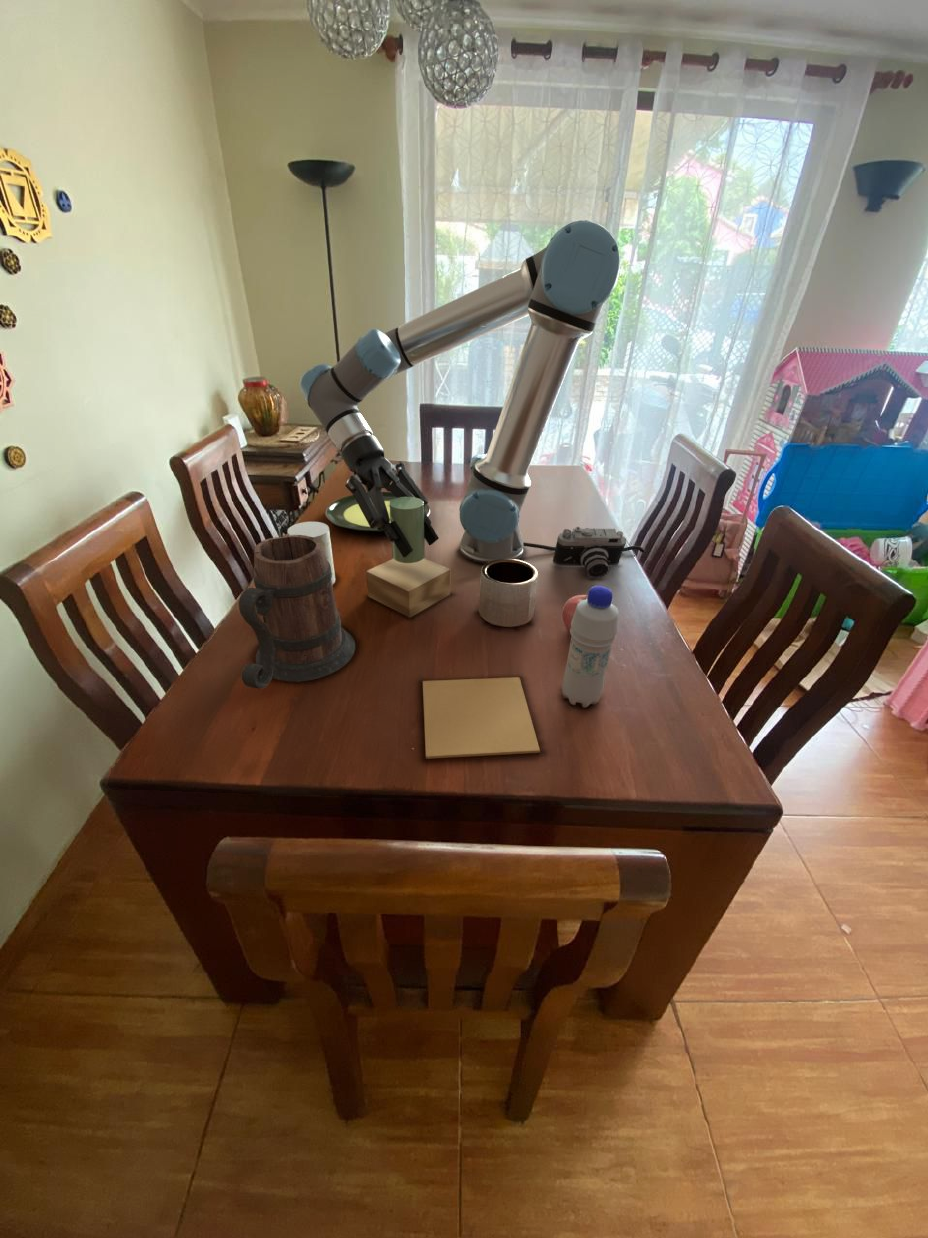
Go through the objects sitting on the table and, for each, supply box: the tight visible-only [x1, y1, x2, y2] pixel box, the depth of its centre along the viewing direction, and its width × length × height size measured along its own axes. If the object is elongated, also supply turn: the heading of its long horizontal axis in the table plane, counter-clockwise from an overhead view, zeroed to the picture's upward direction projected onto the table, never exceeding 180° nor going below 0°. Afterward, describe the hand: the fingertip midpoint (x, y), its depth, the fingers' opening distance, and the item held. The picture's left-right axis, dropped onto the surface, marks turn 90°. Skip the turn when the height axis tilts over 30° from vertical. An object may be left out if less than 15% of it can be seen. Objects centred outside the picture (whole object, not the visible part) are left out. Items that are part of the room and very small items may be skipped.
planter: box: [478, 559, 539, 628], centre depth 100 cm, size 11×11×10 cm
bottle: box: [561, 585, 620, 708], centre depth 78 cm, size 7×7×20 cm
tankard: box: [238, 535, 356, 690], centre depth 83 cm, size 24×17×20 cm
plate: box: [325, 491, 431, 533], centre depth 141 cm, size 28×28×2 cm
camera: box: [552, 526, 628, 580], centre depth 116 cm, size 16×9×10 cm, turn 93°
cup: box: [286, 521, 336, 585], centre depth 109 cm, size 8×8×12 cm
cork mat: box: [422, 676, 541, 760], centre depth 79 cm, size 16×16×1 cm
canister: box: [389, 497, 426, 563], centre depth 100 cm, size 6×6×11 cm
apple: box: [561, 594, 588, 632], centre depth 96 cm, size 7×7×8 cm
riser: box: [365, 557, 451, 618], centre depth 106 cm, size 12×12×6 cm
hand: (421, 547), depth 99 cm, fingers closed on canister, 6 cm apart
